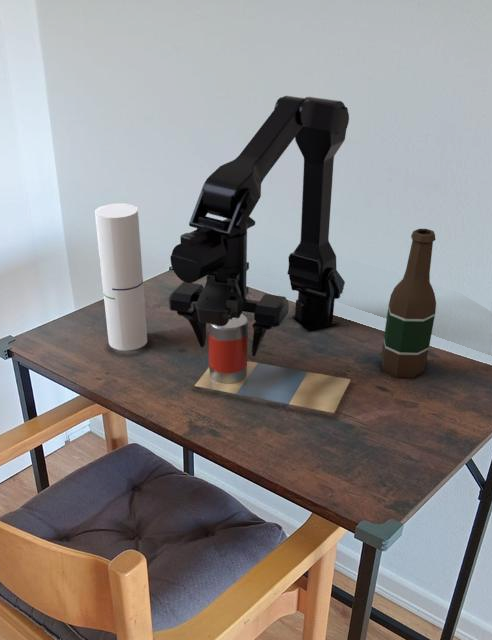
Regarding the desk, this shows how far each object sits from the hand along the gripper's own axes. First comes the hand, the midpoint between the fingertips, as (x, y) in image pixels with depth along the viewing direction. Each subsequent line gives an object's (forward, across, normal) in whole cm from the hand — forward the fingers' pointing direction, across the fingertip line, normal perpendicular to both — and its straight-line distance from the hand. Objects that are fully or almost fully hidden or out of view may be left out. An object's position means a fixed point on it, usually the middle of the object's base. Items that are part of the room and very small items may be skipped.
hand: (228, 350), depth 126 cm
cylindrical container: (+6, -22, +5) cm, 23 cm away
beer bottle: (+6, +27, +14) cm, 31 cm away
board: (+5, +8, 0) cm, 10 cm away
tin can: (+4, 0, 0) cm, 4 cm away
